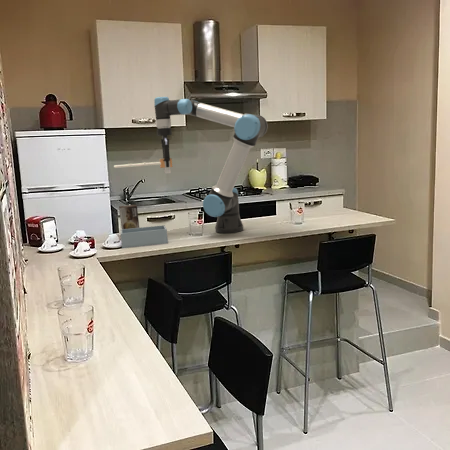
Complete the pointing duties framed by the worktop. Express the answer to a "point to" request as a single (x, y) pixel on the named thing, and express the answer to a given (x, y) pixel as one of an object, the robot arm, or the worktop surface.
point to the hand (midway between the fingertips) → (167, 173)
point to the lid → (145, 164)
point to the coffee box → (129, 216)
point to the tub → (144, 236)
